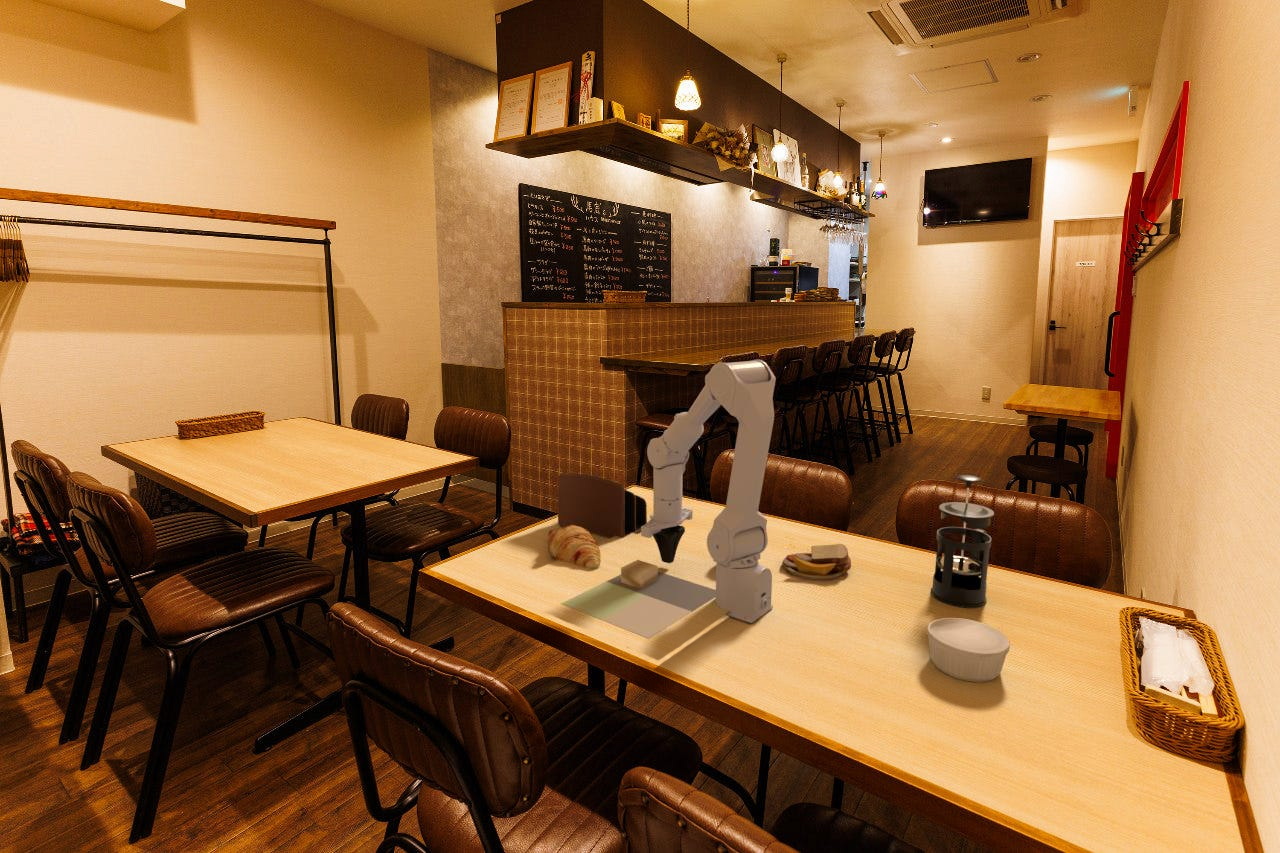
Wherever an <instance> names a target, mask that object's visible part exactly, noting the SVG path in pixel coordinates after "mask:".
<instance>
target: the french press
mask: <svg viewBox="0 0 1280 853" xmlns="http://www.w3.org/2000/svg"><path fill="white" fill-rule="evenodd" d="M956 479H957V481H962V482H965V488H966V498H965V502H961V501H959V502H958V501H952V502H951V501H950V502H943V503H941V504H940V505H939V507H938V509H939V510H940V511H941V512H940V519H941V520H943V519H945V518H946V517H948V516H952V517H956V518H959V520H961V521H963V527H959V526H947V527H941V528H939V529H937V531H936V541H937V543H936V544H937V545H936V555H935V568H934V573H933V575H932V576H933V577H932V587H931V588H930V594H931V596H932V597H933V598H934V599H935V600H937V601H939V602H941V603H944V604H946V605H950V606H953V607H956V606H957V608H963V609H965V608H966V609H975V608H980V607H984V606H985V605H986V603H987V597H986V596H987V595H986V594H987V588H988V587H987V586H988V584H987V579H988V567H989V559H990V558H989V557H990V548H991V547H992V537H991V535H989V534H988V531H986V530H984V528H989V527H990V525H991V521H992V520H991V519H992V518H993V517H994V516H995V511H993V509H991V508H989V507H986V506H983V505H980V504H975V503H970V502H969V497H970V496H969V494H970V489H971V488H972V483H980V482H981V483H982V482H983V479H982V478H980V477H978V476H975V475H969V474H960V475H957V476H956ZM966 525H968V526H970V527H971V528H968V527H967V526H966ZM972 528H974V529H972ZM953 534H954V535H962V540H961V542H959V541H955V540H951V539H948V538H945V535H953ZM966 536H969V537H970V543H969V542H967V543H966V542H965V538H966ZM955 550H960V551H961V552H960V555H955ZM964 551H966V552H967V551H968V552H969V555H968V556H969V557H968V556H964ZM943 552H944V553H943Z"/></svg>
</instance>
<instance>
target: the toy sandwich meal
mask: <svg viewBox="0 0 1280 853" xmlns="http://www.w3.org/2000/svg"><path fill="white" fill-rule="evenodd" d="M782 566H783V567H784V568H785V569H786V570H787V571H788V572H789V573H790V574H792V575H794V576H795V577H799V578H802V579H806V580H814V581H815V580H816V581H823V580H824V581H826V580H832V579H836V578H838V577H840V576H841V575H843V574H844V573H845V572H848V571H849V570H851V567H852V560H851V558H850V556H849V550H848V548H847V546H846V545H844V544H843V543H836V544H821V545H820V544H819V545H812V546H811V552H797V553H791V554H787V555H786V556H785V557H784V558H783V559H782Z"/></svg>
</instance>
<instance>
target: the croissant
mask: <svg viewBox="0 0 1280 853" xmlns="http://www.w3.org/2000/svg"><path fill="white" fill-rule="evenodd" d="M547 546H548V548H547V549H548V551H549V553H550V555H551V556H552V558H554V560H555V559H556V560H557V561H561V562H568V563H572V564H574V565H577V566H581V567H582V566H583V567H584V568H588V569H590V570H593V569H594V570H596V569H598V568H600V566H601V550H600V548H599V546H598V543H597V542H596V541H595V539H594V537H593V536H592V534H590V532H589V531H587V530H586V529H584V528H582V527H578V526H575V525H570V526H567V527H562V528H560V529H558V528H557V529H551V530H549V531H548V538H547Z"/></svg>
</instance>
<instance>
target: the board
mask: <svg viewBox="0 0 1280 853" xmlns="http://www.w3.org/2000/svg"><path fill="white" fill-rule="evenodd" d="M713 599H716V588H715V589H714V588H712V587H708V586H705V585H701V584H699V583H695V582H692V581H688V580H687V579H686V580H685V579H683V578H680V577H677V576H673V575H669V574H667V573H664V572H662V571H658V581H656V582H654V583H653V584H651V585H649V586H647V587H645V588H643V589H639V588H636V587H633V586H630V585H627V584H625V583H622V582H621V574H619V575H617V576H615V577H612V578H610V579H608V580H607V581H605V582H602V583H601V584H600V583H599V584H598V585H596V586H594V587H592V588H591V589H588V590H586V591H584V592H582V593H580V594H578V595H576V596H574V597H572V598H569V599H568V600H565V601H563V602H561V603H560V604H561V605H563V606H566V607H568V608H571V609H574V610H576V611H578V612H581V613H584V614H586V615H589V616H591V617H593V618H597V619H598V620H601V621H603V622H606V623H608V624H611V625H613V626H616V627H617V628H621V629H624V630H626V631H629V632H631V633H634V634H636V635H638V636H640V637H643V638H645V639H648V640H650V639H651V638H653V637H654V636H656V635H658V634H659V633H661V632H662V631H664V630H666V629H667V628H668V627H670V626H672V625H674V624H675V623H677V622H678V621H680V620H682V619H683V618H685V617H686V616H688V615H689V614H690V613H692V612H694V611H696V610H697V609H699V608H700V607H702V606H704V605H705V604H707V603H709V602H710V601H712V600H713Z"/></svg>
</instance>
